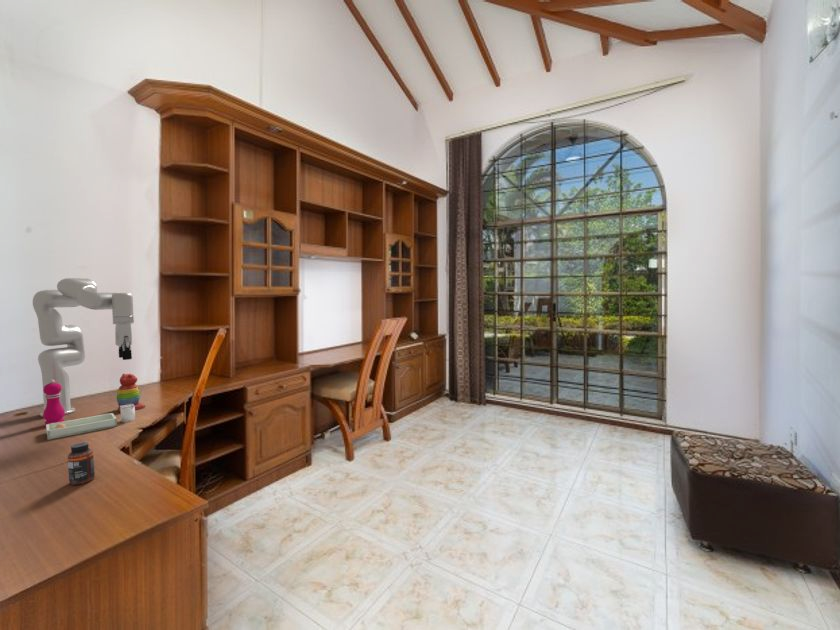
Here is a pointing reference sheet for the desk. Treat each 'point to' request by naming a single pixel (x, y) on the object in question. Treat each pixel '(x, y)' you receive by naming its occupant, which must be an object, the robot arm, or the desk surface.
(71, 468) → the supplement bottle
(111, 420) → the tray
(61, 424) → the ball
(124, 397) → the stacking bear
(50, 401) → the pepper mill
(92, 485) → the desk surface
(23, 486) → the desk surface
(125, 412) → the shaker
